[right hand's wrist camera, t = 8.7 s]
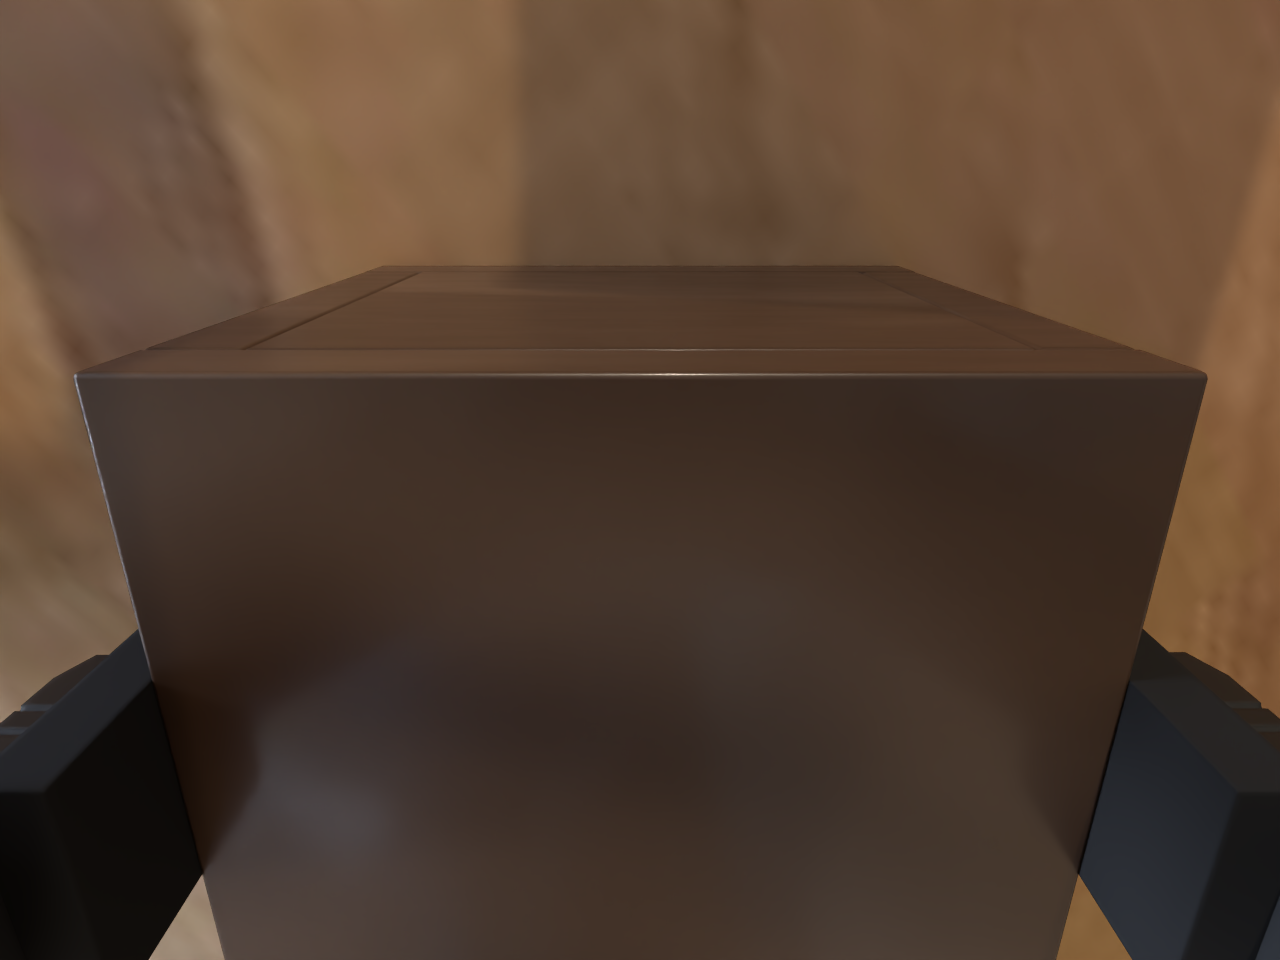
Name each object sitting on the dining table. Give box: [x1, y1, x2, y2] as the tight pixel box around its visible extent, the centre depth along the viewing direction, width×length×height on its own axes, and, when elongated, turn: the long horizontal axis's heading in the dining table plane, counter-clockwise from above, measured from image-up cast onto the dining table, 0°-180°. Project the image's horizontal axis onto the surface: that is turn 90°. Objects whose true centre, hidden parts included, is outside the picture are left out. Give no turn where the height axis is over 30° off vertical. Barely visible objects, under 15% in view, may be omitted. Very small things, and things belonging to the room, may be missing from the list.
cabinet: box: [74, 266, 1207, 960], centre depth 15 cm, size 22×10×9 cm, turn 0°
